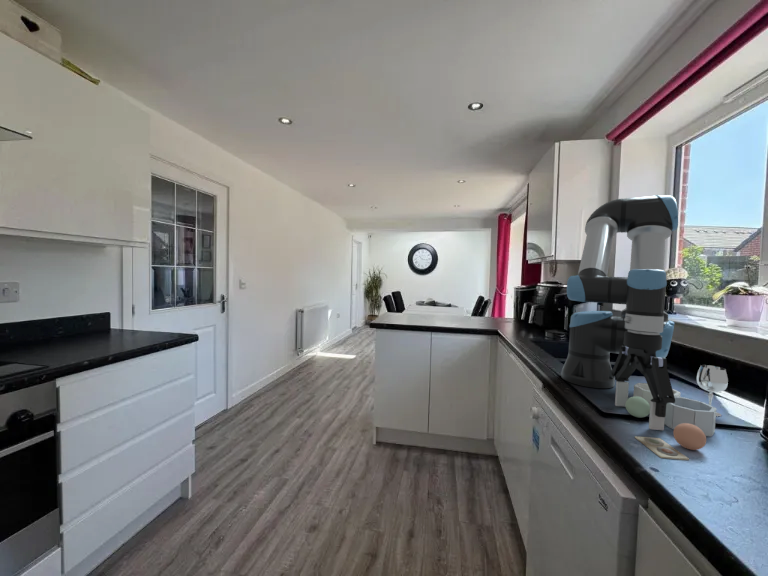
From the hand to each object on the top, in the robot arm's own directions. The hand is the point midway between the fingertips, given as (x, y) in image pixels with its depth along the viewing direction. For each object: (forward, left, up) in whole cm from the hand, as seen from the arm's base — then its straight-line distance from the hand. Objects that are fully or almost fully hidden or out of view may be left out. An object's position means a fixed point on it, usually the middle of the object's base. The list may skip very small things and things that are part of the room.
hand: (637, 416), depth 84 cm
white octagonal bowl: (-6, +8, 0) cm, 10 cm away
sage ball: (0, 0, 0) cm, 0 cm away
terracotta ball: (+15, +1, 0) cm, 15 cm away
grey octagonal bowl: (+4, +9, 0) cm, 9 cm away
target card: (+16, -5, 0) cm, 16 cm away
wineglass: (-6, +21, 0) cm, 22 cm away
